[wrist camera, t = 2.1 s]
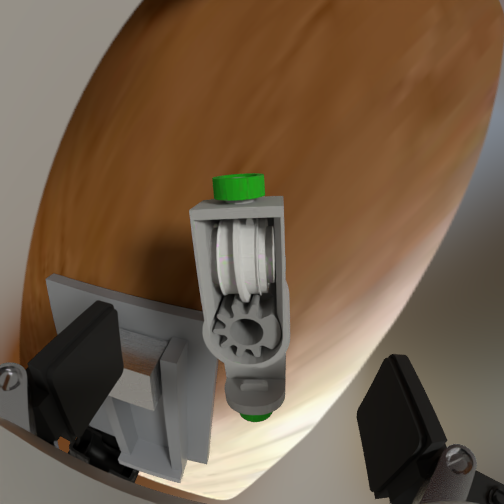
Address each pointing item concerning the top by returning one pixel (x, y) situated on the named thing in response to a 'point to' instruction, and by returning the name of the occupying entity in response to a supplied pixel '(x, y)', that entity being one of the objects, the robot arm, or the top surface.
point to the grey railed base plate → (172, 375)
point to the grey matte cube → (140, 370)
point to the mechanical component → (244, 290)
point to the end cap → (101, 453)
